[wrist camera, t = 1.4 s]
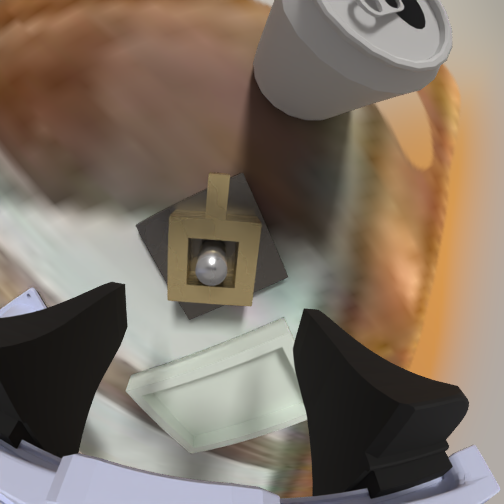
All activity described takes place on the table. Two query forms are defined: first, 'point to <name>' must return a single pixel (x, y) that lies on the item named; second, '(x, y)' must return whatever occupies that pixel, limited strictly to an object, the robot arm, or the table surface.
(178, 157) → the table surface
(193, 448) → the tray
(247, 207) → the square base with knob
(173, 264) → the square frame with tab
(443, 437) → the robot arm
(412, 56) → the can
